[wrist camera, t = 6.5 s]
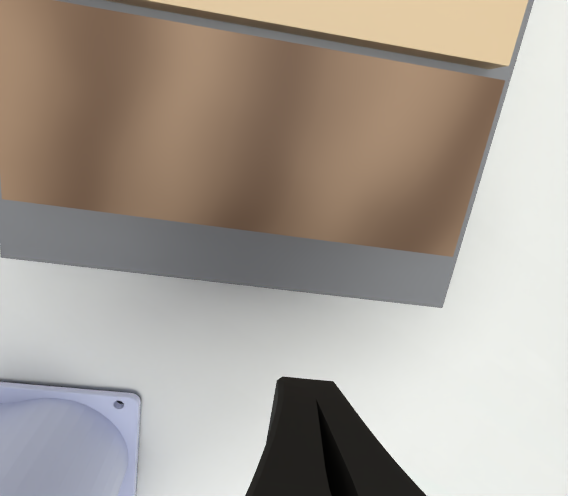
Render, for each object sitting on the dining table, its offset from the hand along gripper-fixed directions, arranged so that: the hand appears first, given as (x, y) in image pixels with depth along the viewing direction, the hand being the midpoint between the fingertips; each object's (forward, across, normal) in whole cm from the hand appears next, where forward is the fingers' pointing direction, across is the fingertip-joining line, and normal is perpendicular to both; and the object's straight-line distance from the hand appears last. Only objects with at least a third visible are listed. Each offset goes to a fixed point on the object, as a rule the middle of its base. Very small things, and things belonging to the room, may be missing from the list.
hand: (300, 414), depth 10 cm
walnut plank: (+9, +2, -6) cm, 11 cm away
